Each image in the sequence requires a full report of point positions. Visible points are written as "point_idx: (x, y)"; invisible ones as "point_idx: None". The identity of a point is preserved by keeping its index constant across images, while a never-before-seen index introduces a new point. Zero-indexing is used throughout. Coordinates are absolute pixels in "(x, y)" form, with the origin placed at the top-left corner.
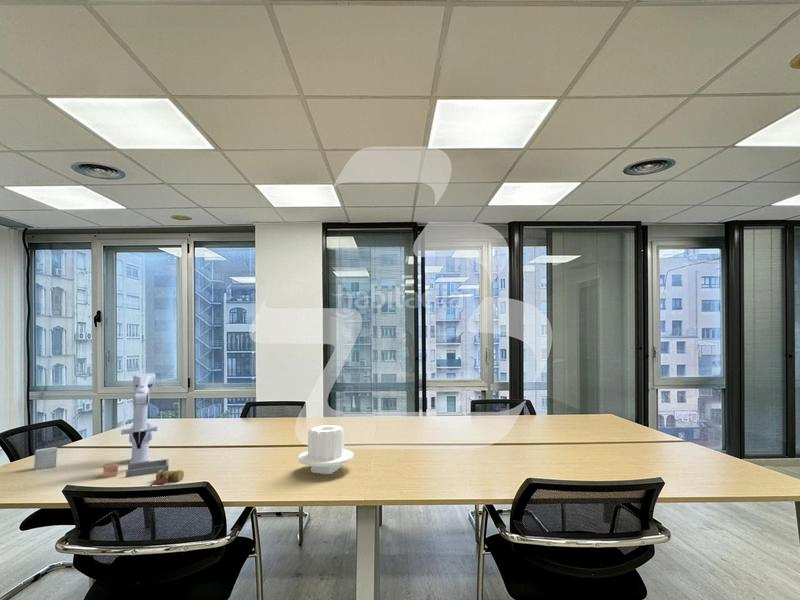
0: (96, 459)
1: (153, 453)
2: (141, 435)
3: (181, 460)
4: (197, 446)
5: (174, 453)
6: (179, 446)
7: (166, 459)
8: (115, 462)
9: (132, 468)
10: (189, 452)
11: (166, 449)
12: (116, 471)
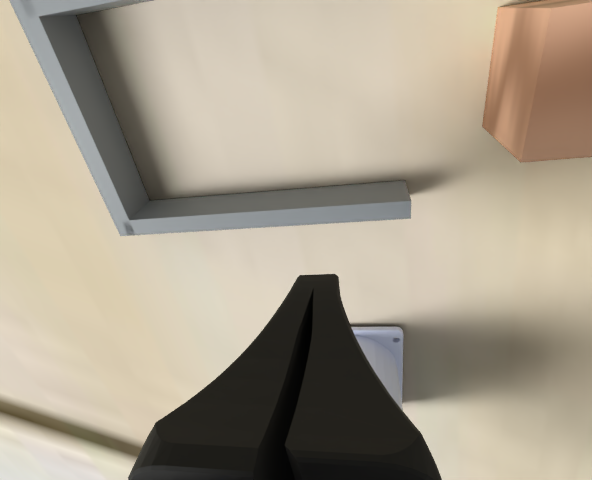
0: (578, 467)
1: None
2: (225, 429)
3: (90, 267)
4: (123, 449)
5: None
6: None
7: (130, 227)
8: (553, 158)
9: (371, 185)
10: (118, 387)
11: None
12: (521, 6)
